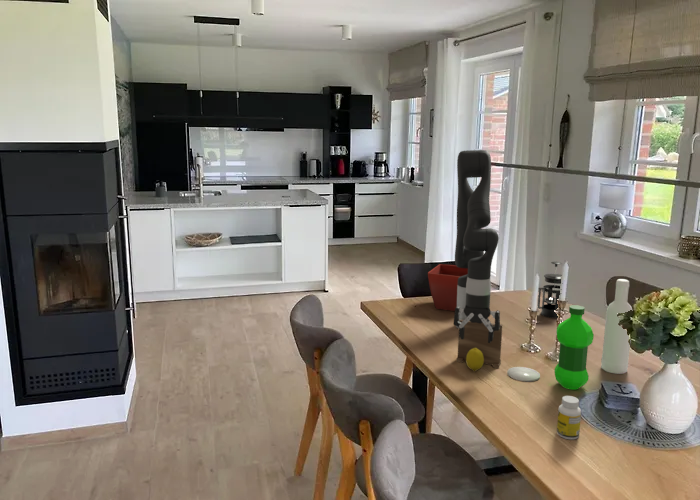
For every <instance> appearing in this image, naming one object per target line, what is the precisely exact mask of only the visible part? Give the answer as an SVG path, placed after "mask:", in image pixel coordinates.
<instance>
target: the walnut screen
mask: <svg viewBox="0 0 700 500" xmlns="http://www.w3.org/2000/svg"><path fill="white" fill-rule="evenodd" d="M462 321H463V320H461V319H460V320H459V322H462ZM485 323H486V322H485ZM491 324H492V325H493V326H495V322H494V323H493V322H491ZM464 327H465V332H464V339H461V337H459V334H458V339H457V341H458V342H457V358H456V359H455V362H456V363H460V364H461V363H463V362H466V357H467V353H468V352H469V351H470V350H471V349H474V348H477V349H479V350H480V351H481V352H482V353H483V357H484V363H483V365H491V366H492V368H496V369H500V366H501V362H502V358H501V355H502V354H501V353H502V342H503V341H502V340H503V338H502V337H503V324H501V323H500V328H499V330H498V331H494V335H493V340H492V341H491V342H490V343H488V332H489V330H488V328H487V327H486V326H485V325H484V323H481V324H480V323H471V322H470V321H468V322H467V323H466V324H465V325H464Z"/></svg>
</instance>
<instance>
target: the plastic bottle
mask: <svg viewBox="0 0 700 500" xmlns="http://www.w3.org/2000/svg"><path fill="white" fill-rule="evenodd" d="M568 308H569V309H568V313H569V314H570V317H568V318H566V319H565V320H564V321H562V322H560V323H559V324H558V325H557V327H556V338H557V341H558V342H559V349H558V350H559V351H558V363H557V364H556V366H555V367H554V377H555V380H556V381H557V383H558V384H559V385H560V386H561V387H563V388H564V389H566V390H572V391H573V390H574V391H575V390H578V389H580V388H581V387H583V386H585V385H586V384H587V383H588V382H589V373H588V370H587V361H588V360H587V359H588V350H589V346H590V345H592V343H593V341H594V332H593V328H592V327H591V326H590V325H589V324H588V322H586V321H585V320H584V319H583V315H584V314H585V311H586V310H585V306H582V305H577V304H572V305H569V306H568Z"/></svg>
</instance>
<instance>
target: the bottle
mask: <svg viewBox="0 0 700 500" xmlns="http://www.w3.org/2000/svg"><path fill="white" fill-rule="evenodd" d="M629 289H630V280H628V279H625V278H618V279H617V280H616V282H615V293H614V294H615V295H614V300H613V301H612V302H610V303H609V304H608V307H607V309H606V313H605V323H604V333H603V334H604V336H603V344H602V352H601V353H602V355H601V365H600V368H601V369H602V370H603V371H605V372H607V373H611V374H614V375H615V374H616V375H617V374H618V375H623V374H625V373H628V368H629V357H630V350H631V349H630V348H631V345H630V346H629V343H628V339H629V336H628V335H627V331H626V330H625V329H623V328H622V327H621V326H619V325H618V323H619V319H620V318H618V317H617V313H625V312H628V311H630V310H632V311H633V308H632V306H631V304H630V303H629V302H628V296H629Z"/></svg>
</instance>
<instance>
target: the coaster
mask: <svg viewBox="0 0 700 500" xmlns="http://www.w3.org/2000/svg"><path fill="white" fill-rule="evenodd" d="M506 374H507V376H508V377H509V378H511V379H513V380H515V381H520V382H536V381H538V380H540V378H541V374H540V372H538V370H536V369H533V368H530V367H525V366H514V367H510V368H508V369H507V372H506Z"/></svg>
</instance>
